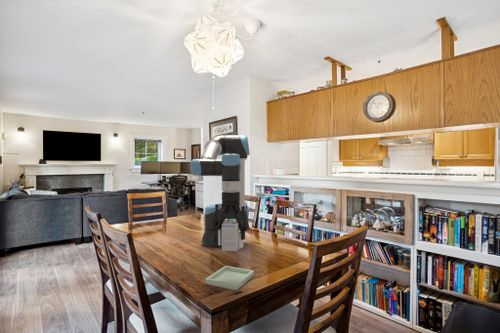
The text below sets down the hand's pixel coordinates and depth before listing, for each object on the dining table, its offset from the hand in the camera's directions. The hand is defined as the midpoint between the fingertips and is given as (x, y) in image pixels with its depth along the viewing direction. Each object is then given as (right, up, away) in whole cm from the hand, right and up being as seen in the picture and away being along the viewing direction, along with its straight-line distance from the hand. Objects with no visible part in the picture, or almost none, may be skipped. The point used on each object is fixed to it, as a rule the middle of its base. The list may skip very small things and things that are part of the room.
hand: (230, 246), depth 113 cm
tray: (0, -14, 0) cm, 14 cm away
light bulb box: (0, -1, 0) cm, 1 cm away
